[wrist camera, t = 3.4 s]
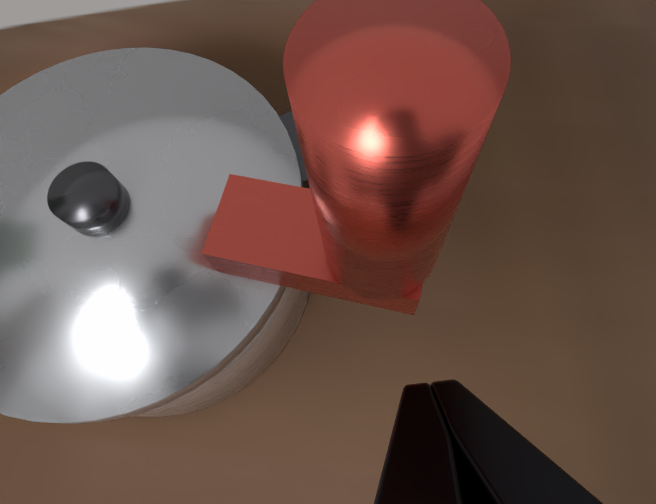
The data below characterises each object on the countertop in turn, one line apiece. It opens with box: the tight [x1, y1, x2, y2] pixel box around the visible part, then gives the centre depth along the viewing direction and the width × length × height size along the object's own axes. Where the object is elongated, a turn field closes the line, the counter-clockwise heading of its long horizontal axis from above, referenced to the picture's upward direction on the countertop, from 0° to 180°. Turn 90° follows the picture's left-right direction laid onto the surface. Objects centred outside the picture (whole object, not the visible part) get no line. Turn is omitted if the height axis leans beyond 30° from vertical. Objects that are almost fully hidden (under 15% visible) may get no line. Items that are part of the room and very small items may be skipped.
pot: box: [134, 111, 310, 417], centre depth 17 cm, size 16×11×4 cm
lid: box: [0, 0, 511, 424], centre depth 10 cm, size 15×12×8 cm
